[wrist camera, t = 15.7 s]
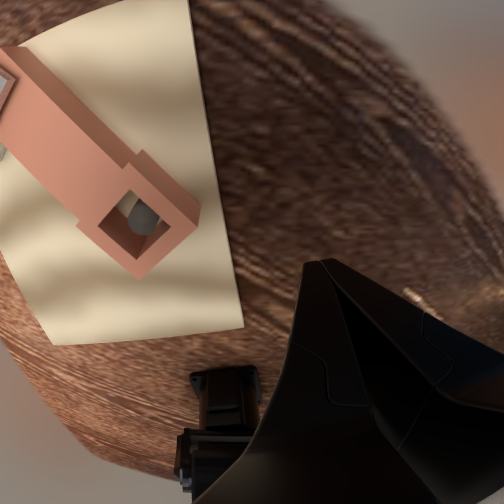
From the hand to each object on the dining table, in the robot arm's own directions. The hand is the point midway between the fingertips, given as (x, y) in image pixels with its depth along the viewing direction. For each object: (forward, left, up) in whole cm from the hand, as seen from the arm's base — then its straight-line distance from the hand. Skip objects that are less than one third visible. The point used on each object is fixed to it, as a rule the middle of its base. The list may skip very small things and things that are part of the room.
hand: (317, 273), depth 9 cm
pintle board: (-1, +12, -12) cm, 17 cm away
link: (+3, +11, -11) cm, 16 cm away
